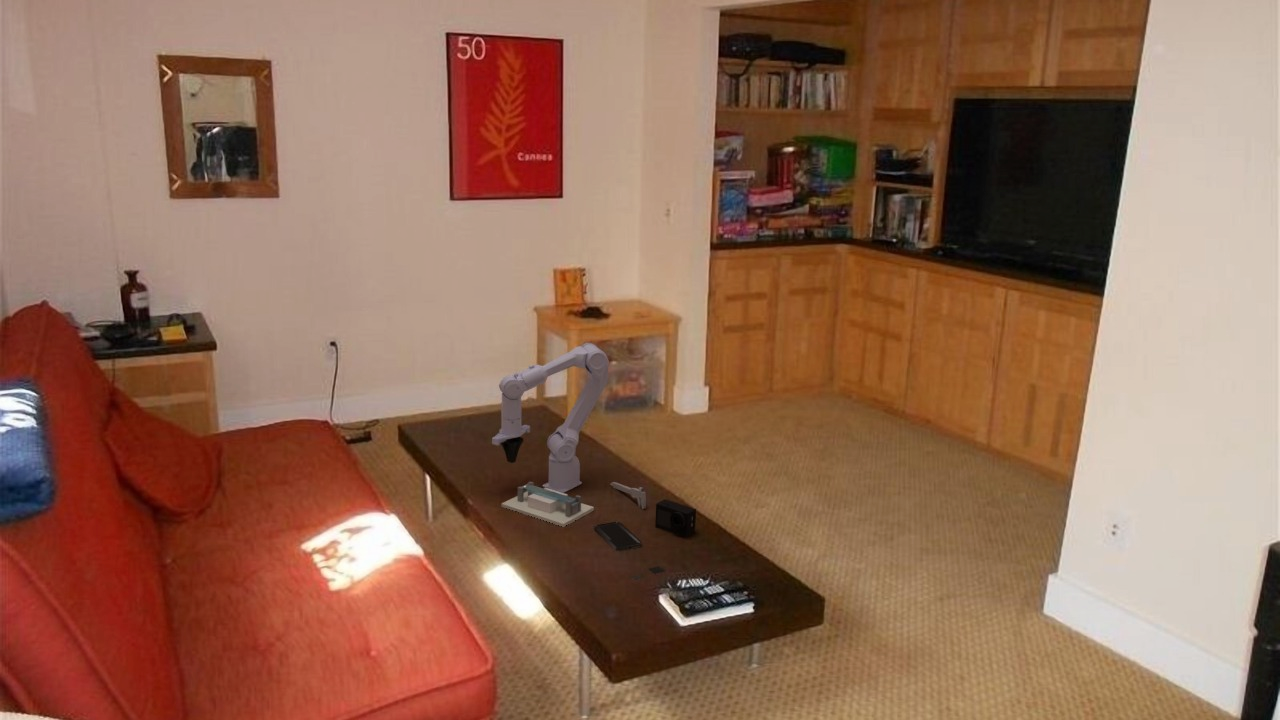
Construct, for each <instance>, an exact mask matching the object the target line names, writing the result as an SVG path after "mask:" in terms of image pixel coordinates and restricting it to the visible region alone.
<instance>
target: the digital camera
mask: <svg viewBox="0 0 1280 720" xmlns="http://www.w3.org/2000/svg"><path fill="white" fill-rule="evenodd" d="M696 520H697V509H696V508H693V507H690V506H688V505H685V504H682V503H677V502H676V501H671V500H668V499H666V498H664V499H663V500H661V501H658V502H657V503H655V520H654V521H655V528H657V529H660V530H664V531H667V532H669V533H672V534H674V535H677V536H681V537H684V538H688V537H690V536H691V535H693V534H695V533H696Z"/></svg>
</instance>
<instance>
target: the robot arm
mask: <svg viewBox="0 0 1280 720" xmlns="http://www.w3.org/2000/svg"><path fill="white" fill-rule="evenodd" d="M610 364H611V363H610V361H609V358H608V356H607V354H606V352H604V351H603V350H601V349H600V348H599V347H597V345H596V344H594V343H591V342H586V343H583V344H582V345H579V346H576V347H574V348H573V349H571V350H570V351H568V352H567V353H565V354H563V355H561V356H559V357H557V358H555V359H553V360H551V361H549V362H548V363H546V364H544V365H540V364H535V365H534V364H533V363H531V364H529V365H528V368H526V369H523V370H521V371H519V372H518V371H516V372H514V373H513V375H510V374H509V375H505V376H504V377H502V379H501V380H500V383H499V384H498V388H499V389H500V391H501V392H502V393H501V402H500V403H501V411H500V412H501V414H500V417H501V419H500V421H501V422H500V423H501V428H499V430H498V433H497V434H496V435H495V436H493V437H492V438H491V443H492V445H495V446H500V445H501V447H502V449H503V451H504V453H505V457H506V461H507V463H511V464H514V463H515V462H517V457H518V453H519V450H520V448H521V446H522V445H523V443H524V438H523V437H522V436H523V434H529V433H531V425H528V424H523V425H522V405H523V404H522V397H523V395H524V393H525V392H527V391H529V390H532V389H533V388H536V387H538V386H540V385H542V384H544V383H547V382H546V381H547V380H548V378H549V377H550V376H552V375H555V374H557V373H561V372H562V371H564V370H568V369H570V368H573V367H576V368H579V369H580V368H581V369H585V370H586V373H587V376H588V379H587V381H586V383H585V385H584V387H583V389H582V390H581V392H580V394H579V396H578V397H577V399H576V401H575V403H574V405H573V407H572V408H571V410H570V411H569V414H568V416H567V417H566V418H565V421H564V422H563V424H561V425H559V426H558V427H557V428H556V430H555V431H554V432H553V433H552V434H550V435H549V436H548V438H547V441H546V445H547V448H548V449H549V450H550V453H549V455H548V482H546V483H544V484H543V485H542V487H541V488H548V489H551V490H555V491H558V492H561V493H564V494H565V493H566V492H568V491H570V490H572V489H574V488H576V487H578V486H580V485H582V481H580V474H581V473H580V472H581V469H580V468H581V467H580V466H581V465H580V464H581V463H580V460H579V458H578V457H577V456H576V451H577V450H576V449H577V445H578V444H579V439H580V438H579V435H580V432H581V430H582V428H583V427H584V425H585V424H586V421H587V419H588V418H589V417H590V414H591V412H592V411H593V408H594V407H595V406H596V404H597V402H598V400H599V398H600V396H601V395H602V393H603V391H604V389H605V387H606V386H607V385H608V383H609V367H610Z"/></svg>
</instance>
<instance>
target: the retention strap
mask: <svg viewBox="0 0 1280 720" xmlns="http://www.w3.org/2000/svg"><path fill="white" fill-rule="evenodd" d="M521 487H523V488H524V492H530V493H533V494H537V495H540V496H543V497H546V498H549V499H552V500H555V501H558V502H562V503H565V504H566V501H567V500H568V501H571V504H573V503H575V502H577V499H575V497H572V496H569V495H568V496H565V495H562V494H559V493H556V492H553V491H549V490H546V489H544V487H539V486H536V485H535V484H534V485H530V484H529V483H528V482H527V483H526V484H525V485H522V486H521Z"/></svg>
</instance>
